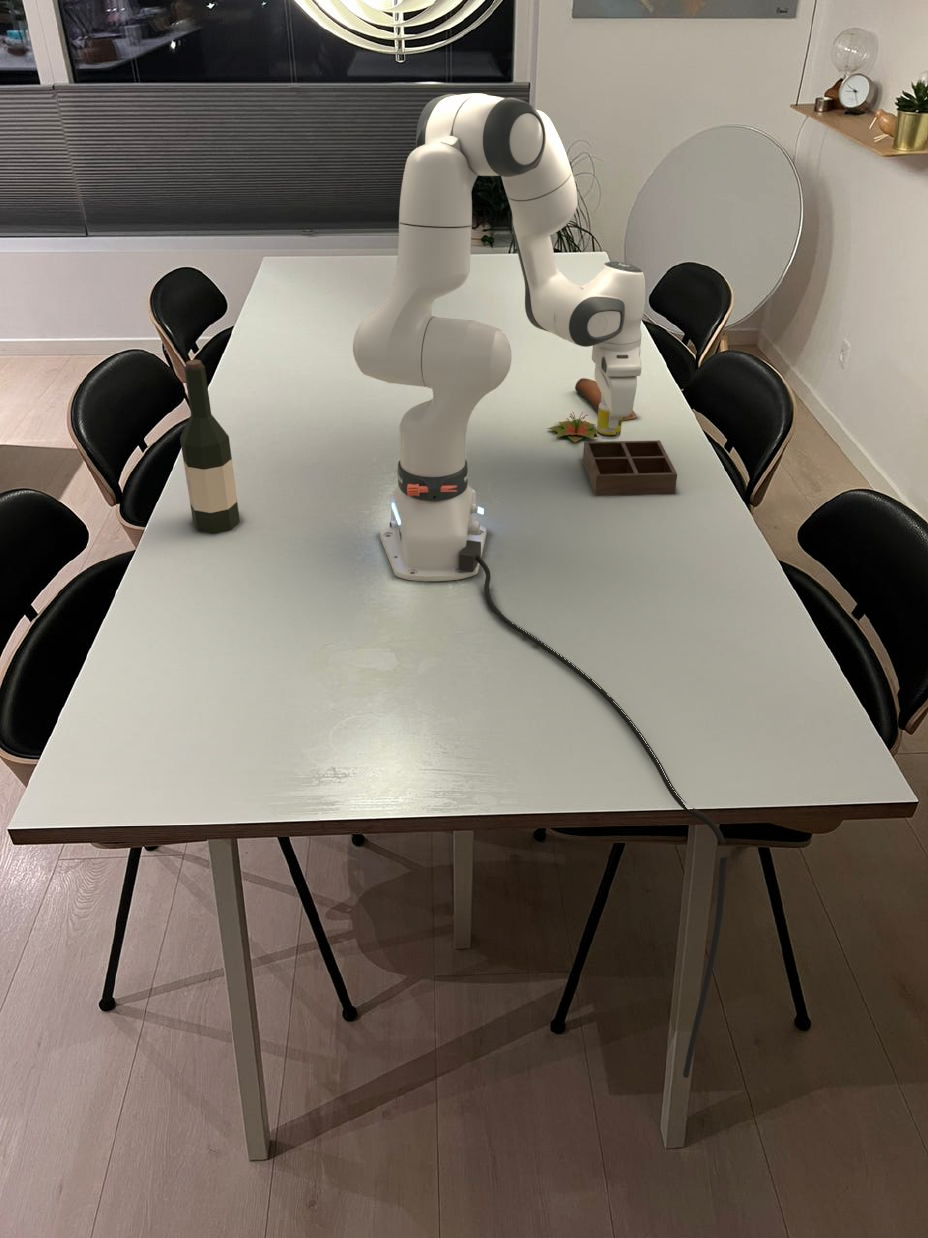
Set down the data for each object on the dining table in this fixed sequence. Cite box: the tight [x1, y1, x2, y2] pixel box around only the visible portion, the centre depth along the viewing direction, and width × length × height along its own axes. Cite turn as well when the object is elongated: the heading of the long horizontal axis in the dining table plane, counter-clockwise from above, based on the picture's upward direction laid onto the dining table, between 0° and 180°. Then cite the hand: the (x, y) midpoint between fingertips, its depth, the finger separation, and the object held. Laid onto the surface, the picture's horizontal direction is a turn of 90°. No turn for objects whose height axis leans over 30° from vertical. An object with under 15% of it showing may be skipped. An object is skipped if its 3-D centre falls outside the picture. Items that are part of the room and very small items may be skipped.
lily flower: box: [546, 411, 597, 444], centre depth 221 cm, size 12×12×5 cm
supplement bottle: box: [596, 394, 623, 440], centre depth 202 cm, size 5×5×8 cm
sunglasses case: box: [574, 377, 637, 422], centre depth 235 cm, size 18×7×7 cm, turn 17°
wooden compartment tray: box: [582, 439, 678, 496], centre depth 205 cm, size 15×15×4 cm
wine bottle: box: [179, 359, 241, 535], centre depth 181 cm, size 8×8×30 cm
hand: (609, 420), depth 203 cm, fingers closed on supplement bottle, 5 cm apart
